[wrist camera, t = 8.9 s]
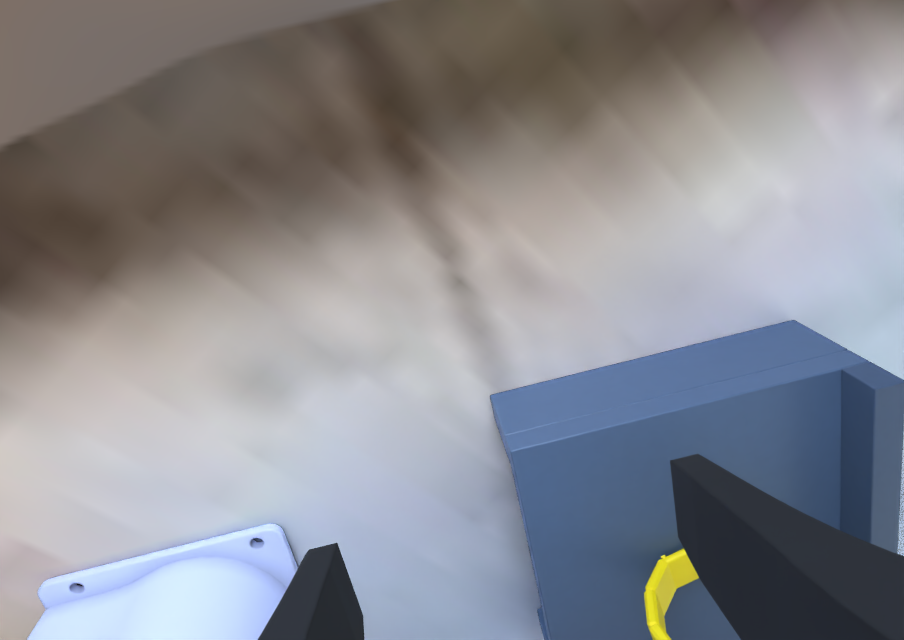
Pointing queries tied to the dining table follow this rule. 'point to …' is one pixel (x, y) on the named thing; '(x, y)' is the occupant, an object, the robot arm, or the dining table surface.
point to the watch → (665, 589)
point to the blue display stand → (683, 434)
